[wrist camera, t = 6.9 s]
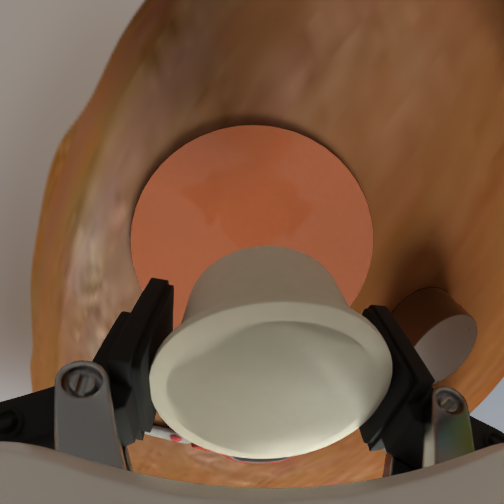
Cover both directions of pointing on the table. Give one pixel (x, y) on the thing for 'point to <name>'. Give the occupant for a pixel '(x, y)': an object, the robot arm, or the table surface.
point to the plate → (250, 209)
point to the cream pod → (269, 359)
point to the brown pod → (437, 330)
